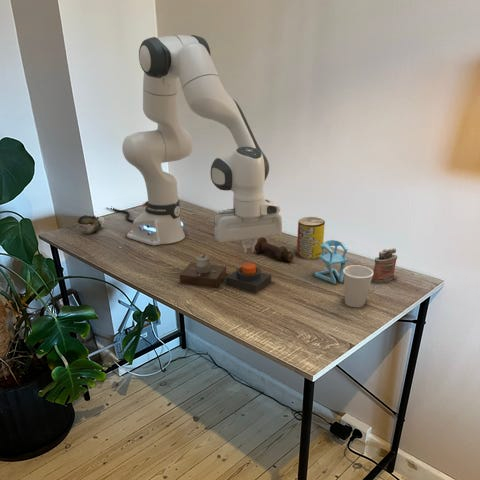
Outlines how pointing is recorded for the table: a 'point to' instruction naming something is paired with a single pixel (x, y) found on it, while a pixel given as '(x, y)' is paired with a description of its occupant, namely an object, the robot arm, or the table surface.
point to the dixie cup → (356, 284)
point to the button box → (248, 280)
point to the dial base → (203, 276)
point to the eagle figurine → (93, 221)
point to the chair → (332, 261)
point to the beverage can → (310, 237)
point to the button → (248, 268)
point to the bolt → (273, 250)
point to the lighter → (384, 266)
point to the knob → (202, 263)
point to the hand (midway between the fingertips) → (248, 251)
